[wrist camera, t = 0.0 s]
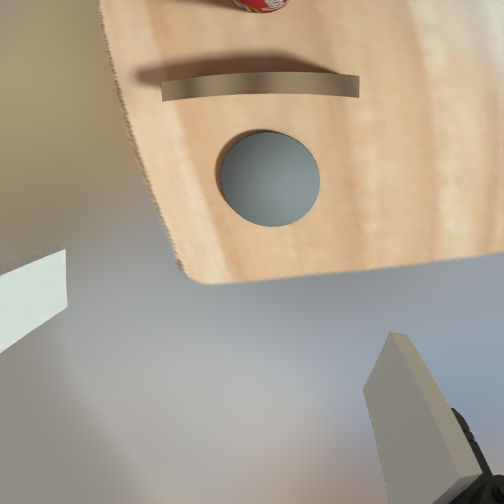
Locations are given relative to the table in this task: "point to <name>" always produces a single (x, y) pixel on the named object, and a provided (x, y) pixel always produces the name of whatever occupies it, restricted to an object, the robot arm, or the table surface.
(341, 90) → the walnut board
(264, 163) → the slate mat
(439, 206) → the table surface
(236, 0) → the soda can
